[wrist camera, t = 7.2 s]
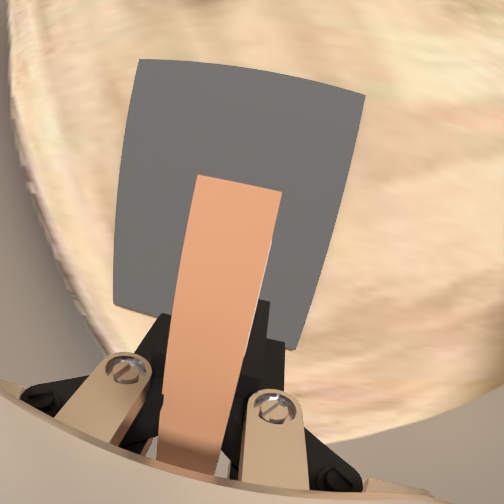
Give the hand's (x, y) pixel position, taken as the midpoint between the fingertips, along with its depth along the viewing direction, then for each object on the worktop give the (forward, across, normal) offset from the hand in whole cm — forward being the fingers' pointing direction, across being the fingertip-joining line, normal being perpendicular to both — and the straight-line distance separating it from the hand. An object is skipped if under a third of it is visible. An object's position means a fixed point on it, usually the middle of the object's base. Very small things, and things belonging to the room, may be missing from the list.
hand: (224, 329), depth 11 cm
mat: (+12, +3, -1) cm, 13 cm away
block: (+2, 0, +1) cm, 3 cm away
